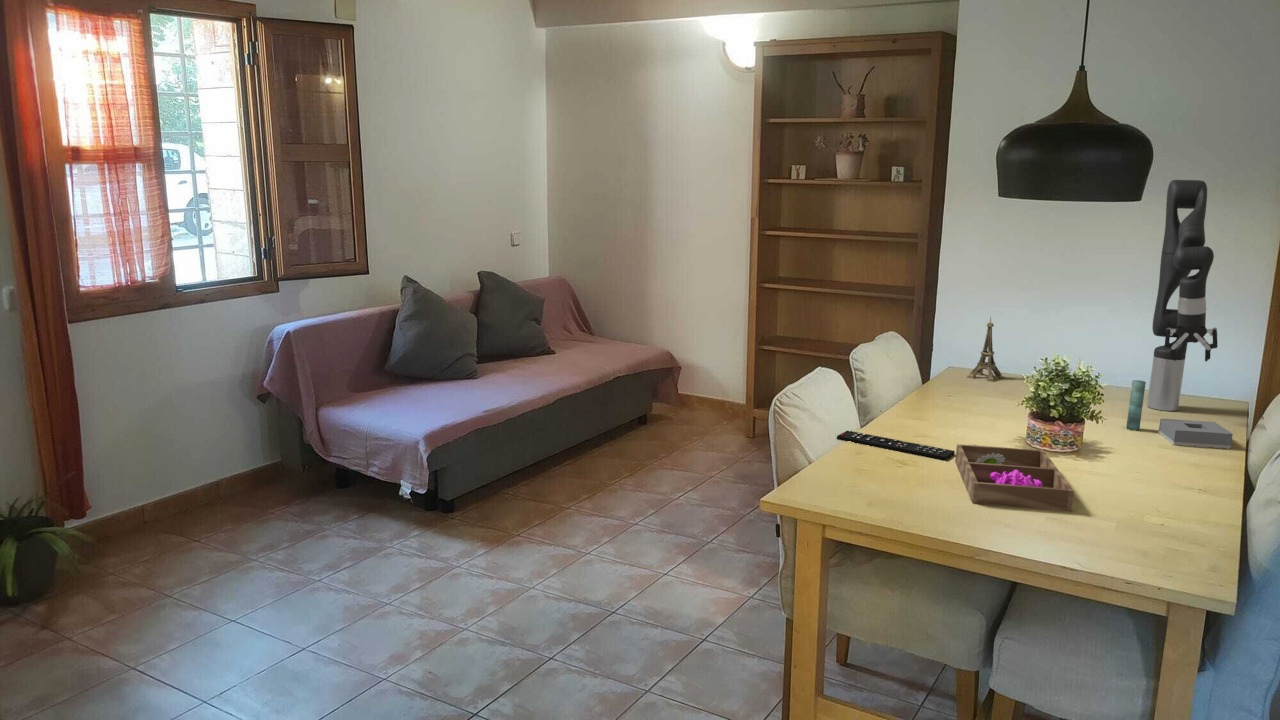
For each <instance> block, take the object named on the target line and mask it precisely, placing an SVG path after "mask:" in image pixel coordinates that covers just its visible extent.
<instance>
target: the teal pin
mask: <svg viewBox="0 0 1280 720" xmlns="http://www.w3.org/2000/svg"><path fill="white" fill-rule="evenodd" d="M1146 382H1147V381H1143V380H1138V379H1134V380H1132V382H1131V388H1130V389H1131V390H1130V397H1129V404H1128V412H1127V420H1126V428H1127V429H1126V428H1125V429H1126V430H1128V429H1130V430H1129V431H1133V430H1139V431H1140V428H1141V420H1142V415H1143V414H1142V412H1143V407H1144V406H1143V405H1144V400H1145V399H1144V398H1145V397H1144V396H1145V390H1146V384H1147V383H1146Z"/></svg>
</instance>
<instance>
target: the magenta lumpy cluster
mask: <svg viewBox="0 0 1280 720" xmlns="http://www.w3.org/2000/svg"><path fill="white" fill-rule="evenodd" d="M1000 476H1001V474H1000V473H997V472H996V471H995V472H993V473H991V474H990V477H991V478H992V480H994V481H995V483H996V484H1009V485H1022V486H1035V487H1042V485H1043V484H1042V482H1041V481H1039V480H1036V479H1033V480H1032V481H1033V482H1031V479H1032V478H1031V475H1028V476H1027V477H1024V476H1023V473H1020V472H1019V471H1018V470H1016V469H1015V470H1013V473H1012V472H1010V473H1009V474H1008V473H1007V472H1006V471H1004V472H1003V474H1002V477H1000ZM1011 476H1013V477H1011ZM1019 476H1021V477H1020V478H1019ZM999 477H1000V478H999ZM1019 481H1021V482H1019Z"/></svg>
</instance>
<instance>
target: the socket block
mask: <svg viewBox="0 0 1280 720" xmlns="http://www.w3.org/2000/svg"><path fill="white" fill-rule="evenodd" d="M1159 433H1160V434H1159ZM1158 434H1159V435H1161V436H1162V437H1163V438H1164V439H1165V440H1166V441H1168V442H1169V443H1170V444H1171V443H1172V444H1171V445H1173V446H1178V445H1182V446H1181V447H1193V446H1196V447H1197V448H1208V447H1215V448H1214V449H1222V448H1227V449H1226V450H1231V446H1232V442H1233V433H1232V432H1231V431H1230V430H1227V429H1226V428H1225V427H1223V426H1221V424H1219V423H1217V422H1216V421H1209V420H1208V421H1205V420H1204V421H1203V420H1192V419H1191V420H1189V419H1174V418H1160V419H1159V426H1158Z"/></svg>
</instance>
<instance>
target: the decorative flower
mask: <svg viewBox="0 0 1280 720" xmlns="http://www.w3.org/2000/svg"><path fill="white" fill-rule="evenodd" d="M994 455H995V453H992V454H991V456H990V454H987V455H986V456H987V457H986V456H981V457H982V458H983V459H981V458H979V459H977V460H979V461H976V462H975V463H988V464H1001V465H1002V463H999V462H1005V461H1004V459H1005V458H1001V457H1003V455H1000V454H996V455H995V456H994ZM999 455H1000V456H999ZM998 458H999V459H998Z"/></svg>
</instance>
